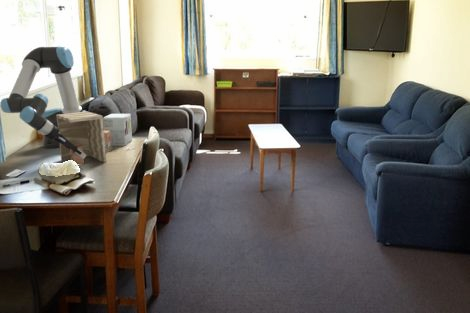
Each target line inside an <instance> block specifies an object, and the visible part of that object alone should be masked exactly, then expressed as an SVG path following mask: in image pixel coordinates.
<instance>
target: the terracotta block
mask: <svg viewBox="0 0 470 313" xmlns="http://www.w3.org/2000/svg"><path fill="white" fill-rule="evenodd" d="M75 146H76V147H78V149H79V150H81V151H82V152H83V148H82V146H81V145H79V144H77V145H75ZM73 152H74V151H73V150H71V149H70V155H71V159H70V161H71V160H73V161H75V162H76V163H77V164H81V165H84V164H85V162H84V161H85V158H84V159H83V158H81V157H80V156H79V155H77V154H76V153H73Z"/></svg>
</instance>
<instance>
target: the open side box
mask: <svg viewBox="0 0 470 313" xmlns="http://www.w3.org/2000/svg"><path fill="white" fill-rule="evenodd" d="M103 118H104V117H103V115H101V114H98V113H95V112H90V111H86V112H78V113H68V114H59V115H57V124H58V128H59V133H58V134H61V135H63V137H65V138H66V139H67V140H68V141H69V142H71V143H72V144H73V145H77V144H79V145H81V146H82V148H83V153H85V154H86V155H87V157H91V158H93V157H94V159H95V160H97V161H100V162H102V163H107V156H106V155H107V154H106V153H107V152H105V140H104V122H103ZM59 151H60V152H59V153H60V160H61V161H68V160H67V159H69V160H71V155H70V150H69V149H68V148H66V147H65V146H64V145H62V144H60V147H59Z"/></svg>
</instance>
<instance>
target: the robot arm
mask: <svg viewBox="0 0 470 313" xmlns="http://www.w3.org/2000/svg"><path fill="white" fill-rule="evenodd" d="M21 66H22V67H21V70H20V71H19V74H18V76H17V78H16V80H15V82H14V85H13V87H12V90H11V92H10V94H9V96H8V97H4V98H2V99H1V101H0V108H1V111H2V112H3V113H6V114H19V115H18V116H19V119H21V120H22V121H23V122H24V123H25V124H27V125H28V126H30V127H31V128H32V129H34V130H35V131H36V132H37V134H41V135H42V136H43V139H42V143H41V145H42V148H44V149H57V148H58V149H60V144H62V145H64V146H65V147H66V148H68V149H69V150H70V149H71V150H73V151H74V152H73V153H76V154H77V155H79V156H80V157H81V158H83V159H84V160H85V158H86V156H87V155H86V154H85V153H83V152H82V151H81V150H79V149H78V147H76V146H75V145H73V144H72V143H71V142H69V141H68V140H67V139H66V138H65V137H63V135H61V134H58V133H59V128H58V124H57V115H59V114H68V113H78V112H87V110H83V109H82V108H83V107H82V106H81V105H80V104H79V103H78V98H77V95H76V90H75V88H74V83H73V78H72V75H71V70H72V67H73V66H74V56H73V53H72V51H71V50H70V49H69V48H68V47H66V46H39V47H36V48H34V49H32V50H31V51H30V52H29V53H27V54H26V55H25V57H24V58H23V60H22V63H21ZM41 69H49V70H50V73H51V74H53V75H54V78H55V80H56V81H55V82H56V84H57V85H56V86H57V89H58V91H59V95H60V99H61V103H62V105H63V106H62V107H63V108H61V107H57V108H55V107H54V108H50V109H47V107H48V104H49V98H48V96H46V94H42V93H36V94H34V95H33V97H28V94H29V92H30V89H31V87H32V85H33V83H34V82H33V81H34V79H35V78H36V75H37V74H38V73H39V72H40V71H41ZM87 157H88V156H87Z"/></svg>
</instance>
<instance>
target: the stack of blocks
mask: <svg viewBox="0 0 470 313" xmlns="http://www.w3.org/2000/svg"><path fill="white" fill-rule="evenodd" d="M104 140H105V153H109V152H111V151H112V146H111V137H110V131H105V130H104Z"/></svg>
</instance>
